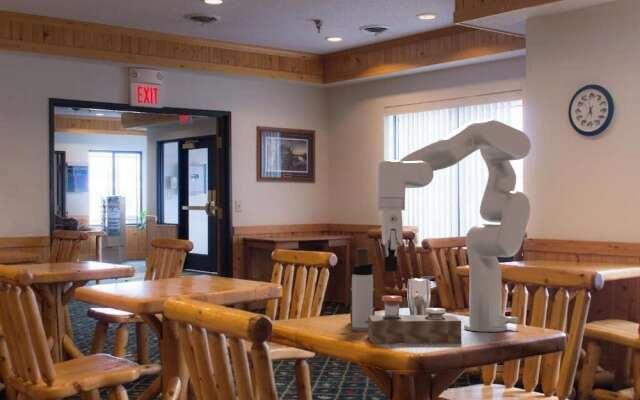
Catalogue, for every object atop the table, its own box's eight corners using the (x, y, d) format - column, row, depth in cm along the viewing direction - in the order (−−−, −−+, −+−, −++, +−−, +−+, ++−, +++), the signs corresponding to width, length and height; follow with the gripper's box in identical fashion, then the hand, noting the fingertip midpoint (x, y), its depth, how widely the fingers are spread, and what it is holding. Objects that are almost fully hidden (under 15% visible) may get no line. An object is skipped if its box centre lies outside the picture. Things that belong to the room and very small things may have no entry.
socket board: (452, 336, 216) (452, 315, 216) (461, 343, 204) (461, 320, 204) (368, 336, 215) (368, 315, 215) (372, 343, 203) (372, 321, 203)
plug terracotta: (400, 324, 212) (400, 295, 213) (403, 327, 207) (403, 297, 207) (380, 325, 212) (380, 295, 212) (382, 327, 207) (382, 297, 207)
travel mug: (372, 331, 224) (372, 264, 224) (350, 331, 225) (350, 263, 226) (375, 328, 230) (375, 262, 231) (353, 328, 232) (353, 262, 232)
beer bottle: (373, 324, 238) (373, 248, 239) (348, 324, 240) (348, 248, 240) (375, 321, 246) (375, 247, 247) (351, 320, 247) (351, 247, 248)
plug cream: (443, 337, 213) (443, 308, 213) (447, 340, 207) (447, 310, 207) (423, 337, 212) (423, 308, 213) (426, 340, 207) (426, 310, 207)
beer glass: (434, 328, 230) (433, 279, 231) (425, 331, 224) (425, 280, 225) (412, 326, 234) (412, 278, 234) (403, 329, 228) (403, 279, 228)
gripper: (408, 204, 203) (407, 273, 202) (401, 205, 218) (400, 269, 217) (380, 204, 203) (379, 272, 202) (375, 205, 218) (374, 269, 217)
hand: (390, 271), depth 210 cm, fingers closed
